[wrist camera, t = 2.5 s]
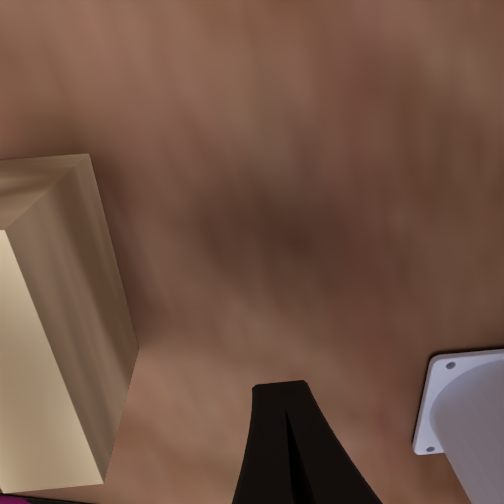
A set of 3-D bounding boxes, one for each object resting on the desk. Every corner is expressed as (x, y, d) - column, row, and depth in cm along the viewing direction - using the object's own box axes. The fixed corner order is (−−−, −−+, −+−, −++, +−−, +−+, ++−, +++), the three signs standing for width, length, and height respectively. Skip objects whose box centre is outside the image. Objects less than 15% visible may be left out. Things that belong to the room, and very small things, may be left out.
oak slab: (89, 152, 16) (4, 229, 10) (138, 348, 20) (103, 483, 14) (-2, 159, 16) (-148, 241, 9) (69, 354, 20) (3, 493, 14)
